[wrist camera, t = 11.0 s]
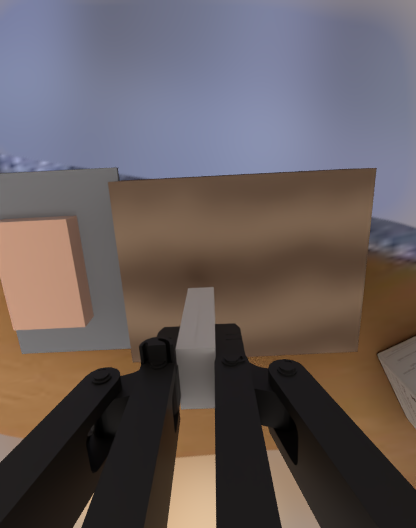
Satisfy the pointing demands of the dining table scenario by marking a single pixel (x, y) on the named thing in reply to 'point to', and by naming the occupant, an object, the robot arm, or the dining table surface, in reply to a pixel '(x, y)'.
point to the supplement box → (402, 374)
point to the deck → (248, 255)
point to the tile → (44, 273)
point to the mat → (93, 245)
